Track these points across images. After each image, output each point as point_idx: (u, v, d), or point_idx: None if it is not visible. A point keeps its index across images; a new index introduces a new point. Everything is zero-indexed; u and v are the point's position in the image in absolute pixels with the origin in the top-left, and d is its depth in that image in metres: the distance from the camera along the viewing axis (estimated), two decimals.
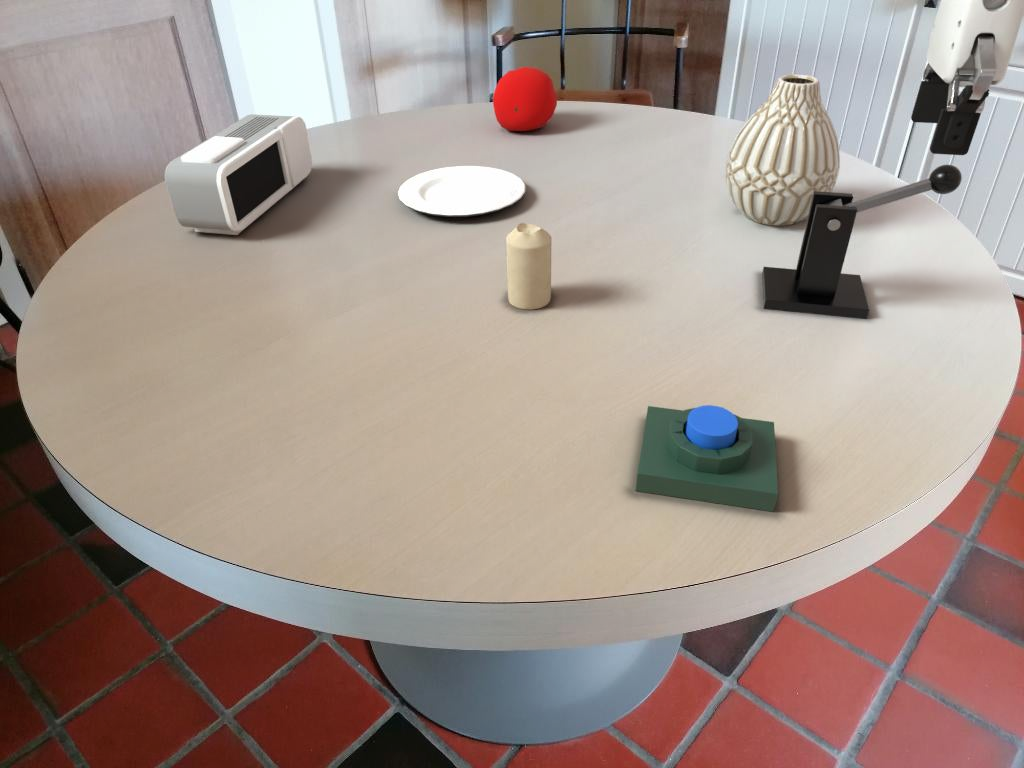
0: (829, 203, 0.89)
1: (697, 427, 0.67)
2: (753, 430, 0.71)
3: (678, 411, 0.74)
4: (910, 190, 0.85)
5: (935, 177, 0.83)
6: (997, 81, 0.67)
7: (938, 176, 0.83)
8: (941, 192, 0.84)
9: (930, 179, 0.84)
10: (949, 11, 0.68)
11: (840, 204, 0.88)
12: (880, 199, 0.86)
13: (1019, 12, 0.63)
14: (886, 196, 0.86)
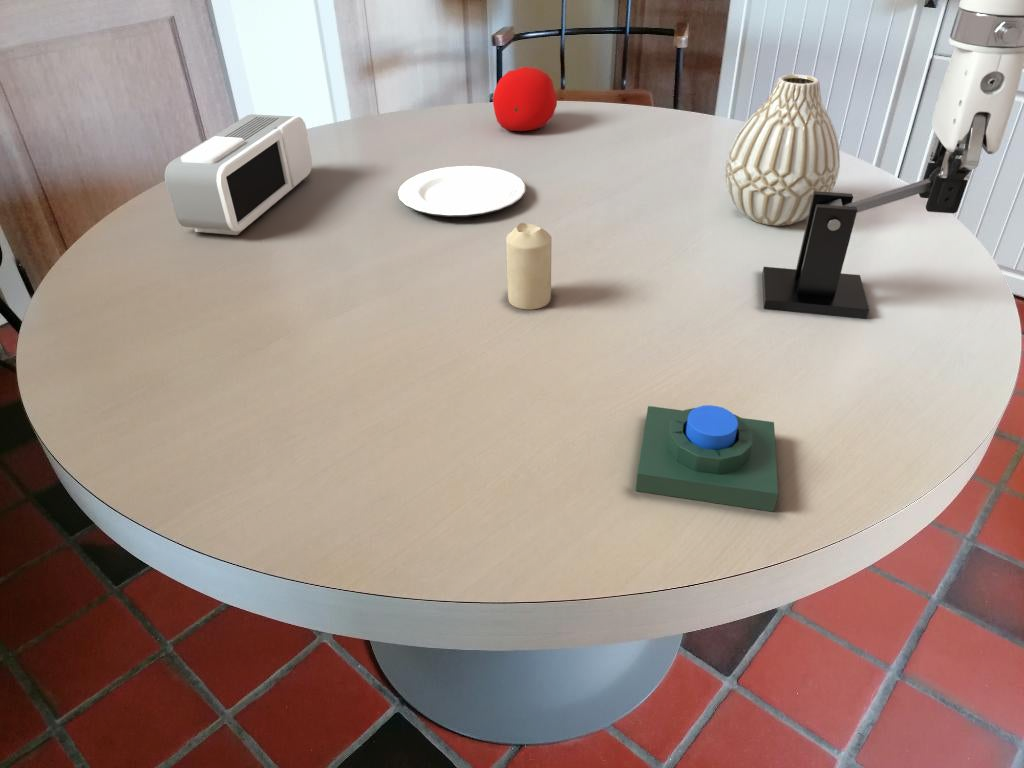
0: (829, 203, 0.89)
1: (697, 427, 0.67)
2: (753, 430, 0.71)
3: (678, 411, 0.74)
4: (910, 190, 0.85)
5: None
6: (993, 151, 0.77)
7: None
8: None
9: (930, 179, 0.84)
10: (951, 90, 0.78)
11: (840, 204, 0.88)
12: (880, 199, 0.86)
13: (1012, 95, 0.74)
14: (886, 196, 0.86)
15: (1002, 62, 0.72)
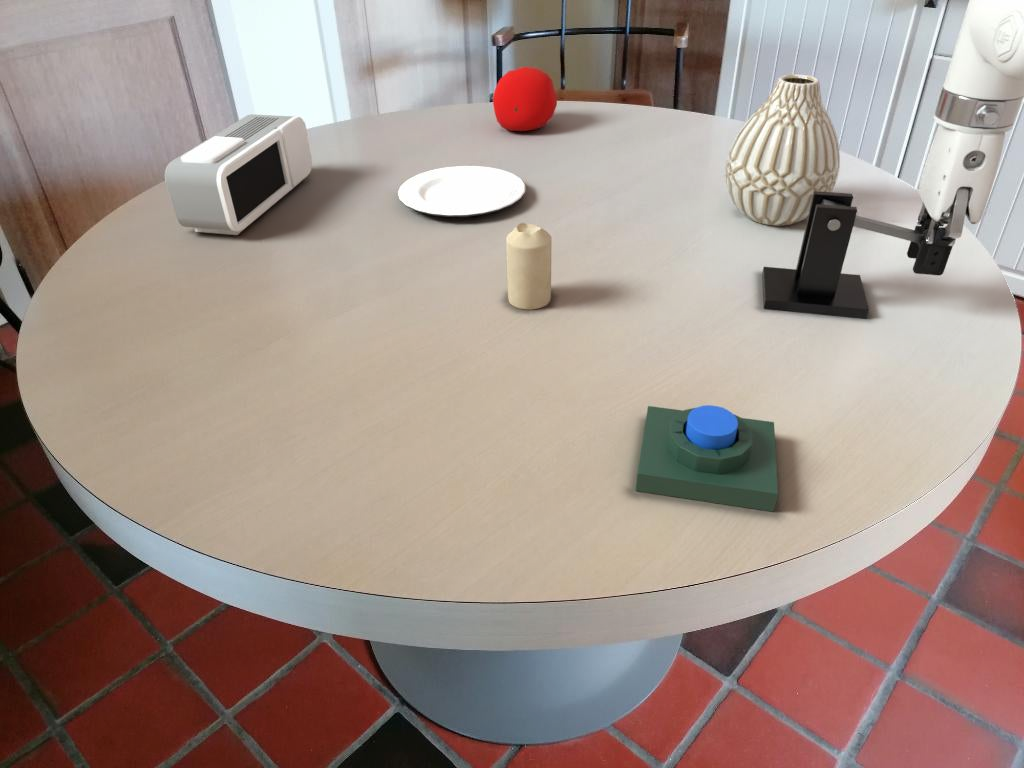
0: (836, 203, 0.89)
1: (697, 427, 0.67)
2: (753, 430, 0.71)
3: (678, 411, 0.74)
4: (905, 233, 0.88)
5: None
6: (975, 222, 0.81)
7: None
8: None
9: (924, 233, 0.88)
10: (936, 163, 0.82)
11: None
12: (878, 226, 0.88)
13: (992, 172, 0.78)
14: (884, 226, 0.88)
15: (983, 142, 0.77)
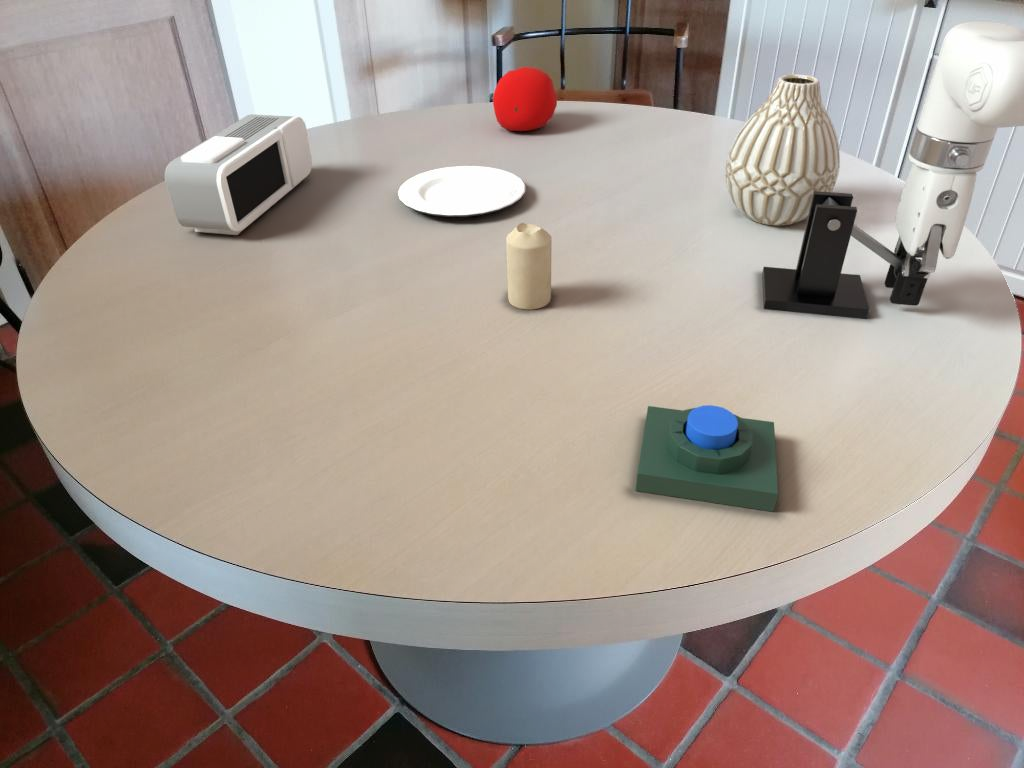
0: (839, 205, 0.89)
1: (697, 427, 0.67)
2: (753, 430, 0.71)
3: (678, 411, 0.74)
4: (888, 254, 0.90)
5: None
6: (949, 257, 0.84)
7: None
8: None
9: (904, 261, 0.90)
10: (911, 199, 0.85)
11: None
12: (868, 240, 0.89)
13: (965, 210, 0.81)
14: (873, 242, 0.89)
15: (955, 182, 0.79)
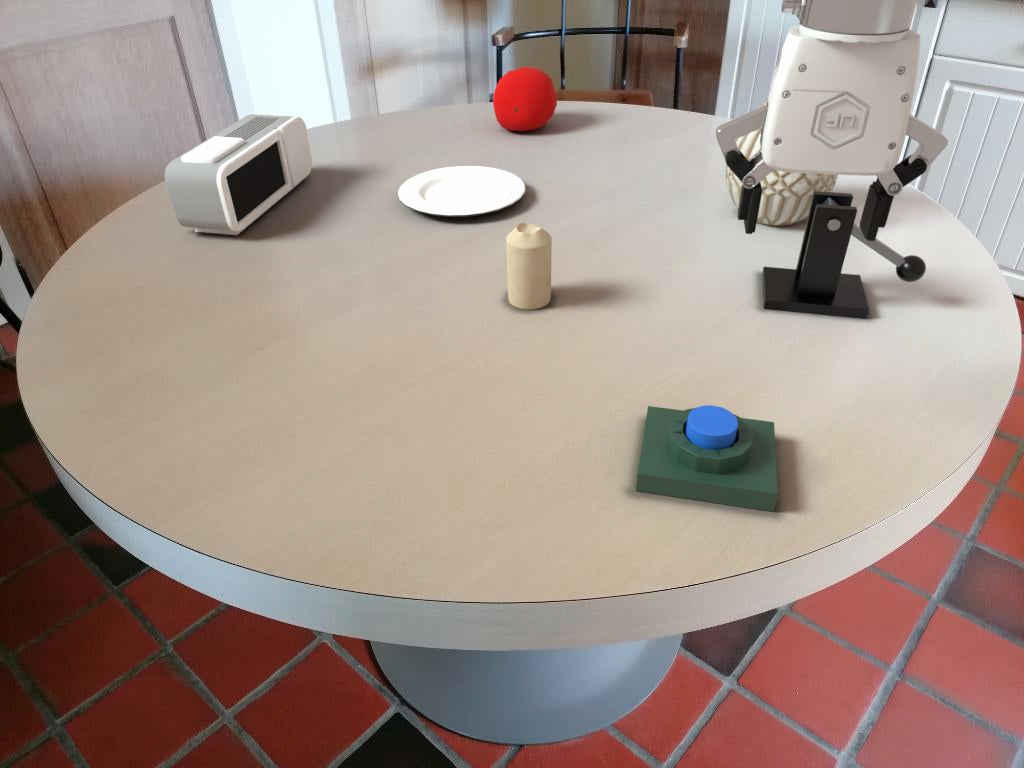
0: (839, 205, 0.89)
1: (697, 427, 0.67)
2: (753, 430, 0.71)
3: (678, 411, 0.74)
4: (890, 253, 0.90)
5: (912, 261, 0.89)
6: (764, 162, 0.59)
7: (914, 263, 0.89)
8: (901, 275, 0.90)
9: (906, 259, 0.90)
10: None
11: None
12: None
13: (778, 88, 0.56)
14: (874, 241, 0.89)
15: (785, 40, 0.56)
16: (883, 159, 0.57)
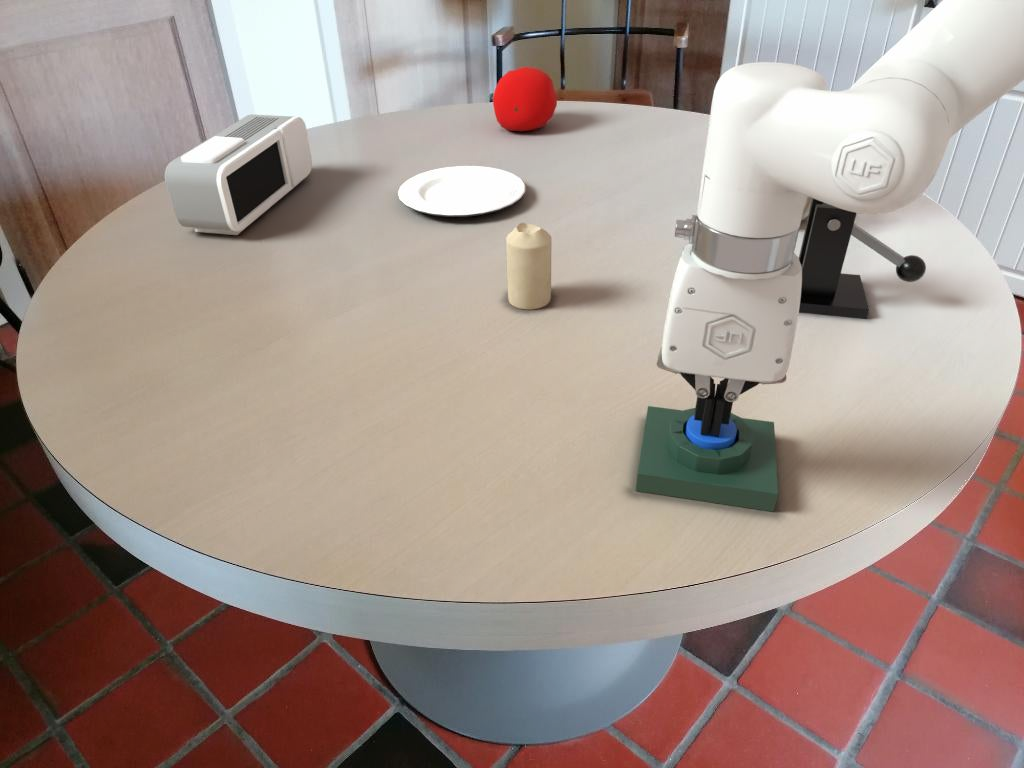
0: None
1: (696, 434, 0.67)
2: (753, 430, 0.71)
3: (678, 411, 0.74)
4: (890, 253, 0.90)
5: (912, 261, 0.89)
6: None
7: (914, 263, 0.89)
8: (901, 275, 0.90)
9: (906, 259, 0.90)
10: None
11: None
12: (869, 239, 0.89)
13: (671, 303, 0.59)
14: (874, 241, 0.89)
15: None
16: (772, 371, 0.60)
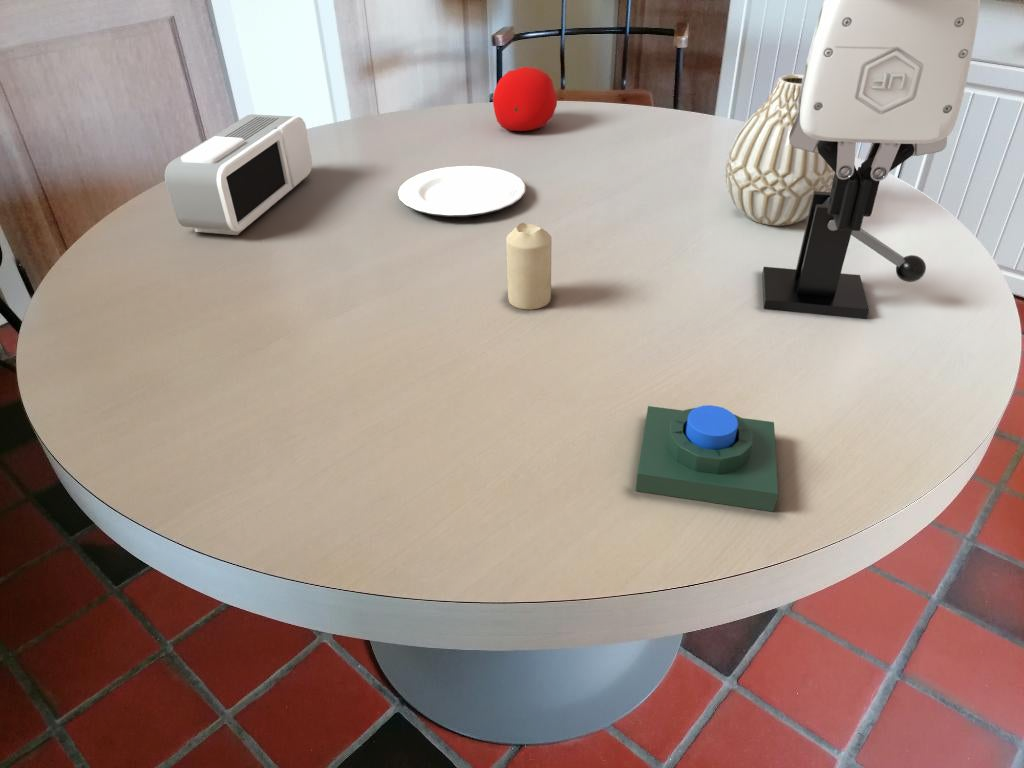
0: None
1: (697, 427, 0.67)
2: (753, 430, 0.71)
3: (678, 411, 0.74)
4: (890, 253, 0.90)
5: (912, 261, 0.89)
6: (803, 130, 0.54)
7: (914, 263, 0.89)
8: (901, 275, 0.90)
9: (906, 259, 0.90)
10: None
11: None
12: (869, 239, 0.89)
13: (818, 46, 0.51)
14: (874, 241, 0.89)
15: None
16: (937, 124, 0.51)
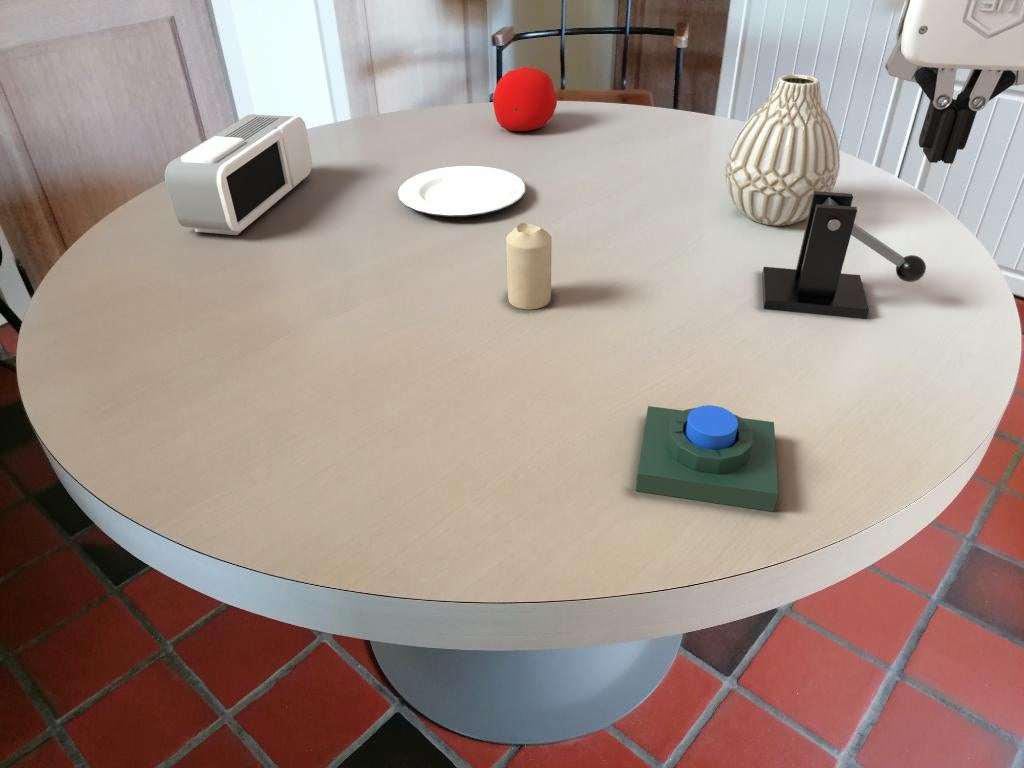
0: (839, 205, 0.89)
1: (697, 427, 0.67)
2: (753, 430, 0.71)
3: (678, 411, 0.74)
4: (890, 253, 0.90)
5: (912, 261, 0.89)
6: (904, 56, 0.54)
7: (914, 263, 0.89)
8: (901, 275, 0.90)
9: (906, 259, 0.90)
10: None
11: None
12: (869, 239, 0.89)
13: None
14: (874, 241, 0.89)
15: None
16: None
